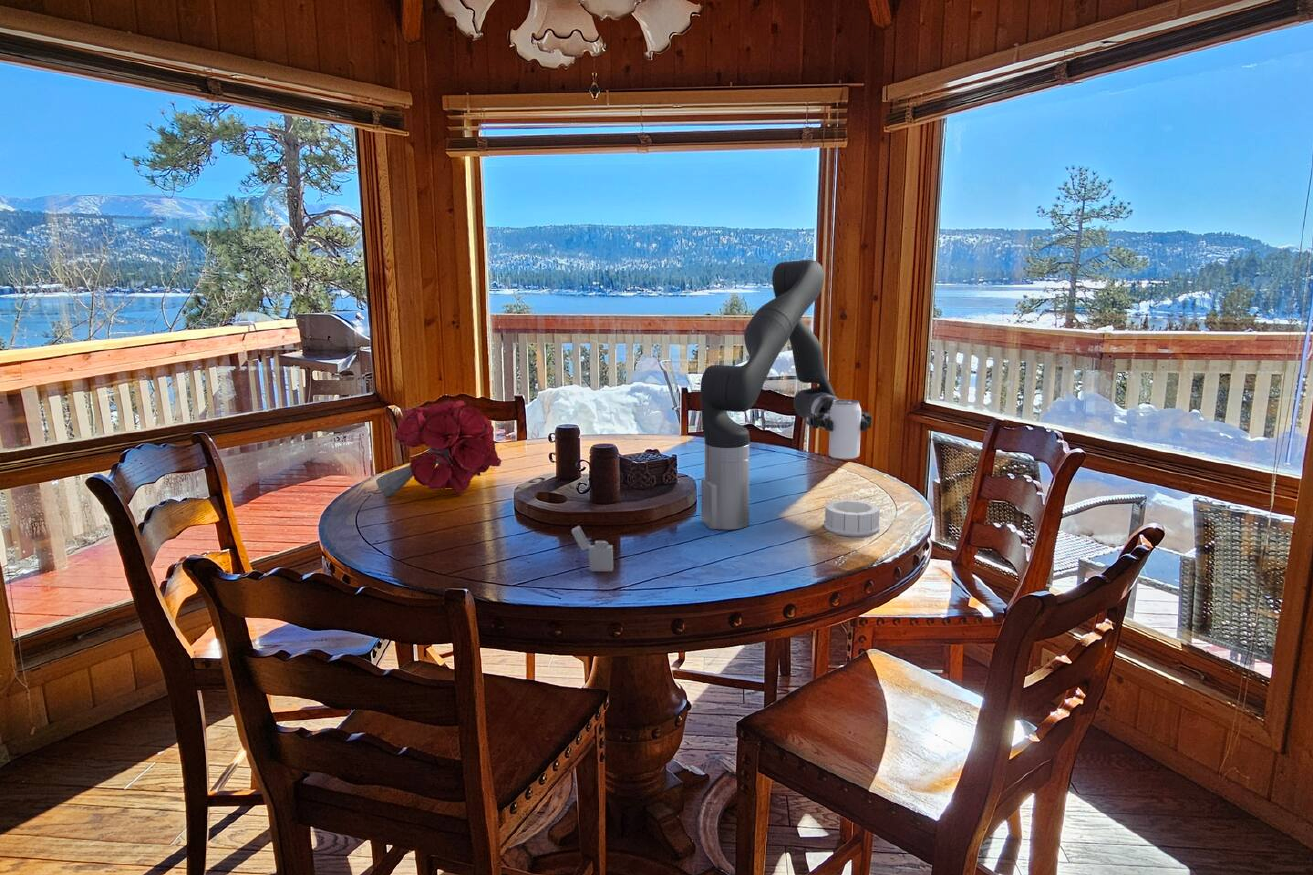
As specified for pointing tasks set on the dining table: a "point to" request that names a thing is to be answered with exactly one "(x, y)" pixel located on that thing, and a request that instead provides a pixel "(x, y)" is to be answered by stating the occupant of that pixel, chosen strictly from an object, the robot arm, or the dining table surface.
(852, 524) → the holder
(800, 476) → the dining table surface
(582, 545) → the lighter
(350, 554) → the dining table surface
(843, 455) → the can
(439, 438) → the bouquet
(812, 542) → the dining table surface
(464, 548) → the dining table surface
